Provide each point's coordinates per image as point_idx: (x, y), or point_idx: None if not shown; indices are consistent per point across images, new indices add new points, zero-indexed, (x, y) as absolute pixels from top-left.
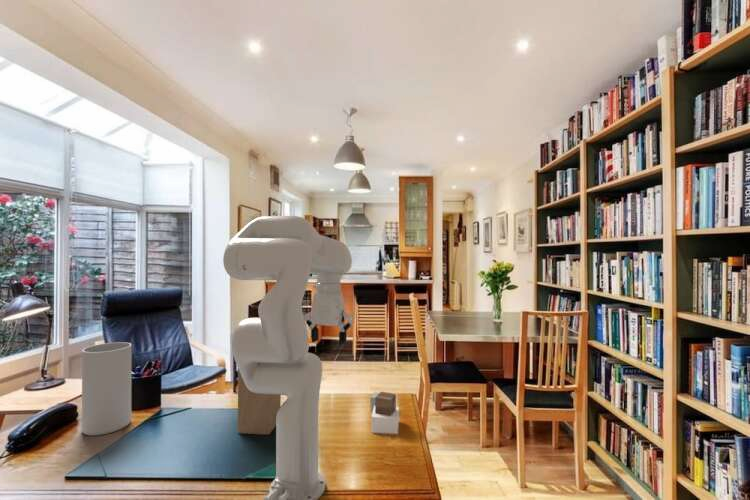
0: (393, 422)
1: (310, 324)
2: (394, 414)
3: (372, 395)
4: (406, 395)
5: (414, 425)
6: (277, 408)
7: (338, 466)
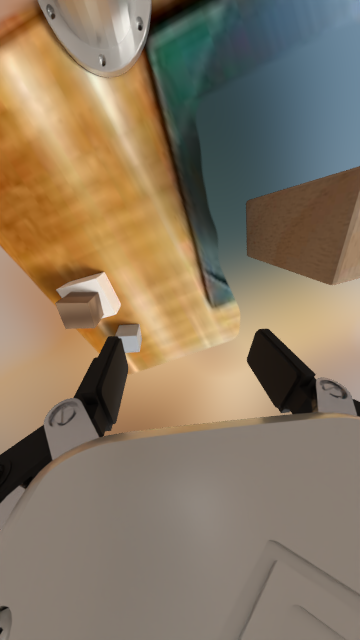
0: (65, 285)
1: (356, 414)
2: None
3: (137, 341)
4: None
5: None
6: (259, 243)
7: (83, 138)
